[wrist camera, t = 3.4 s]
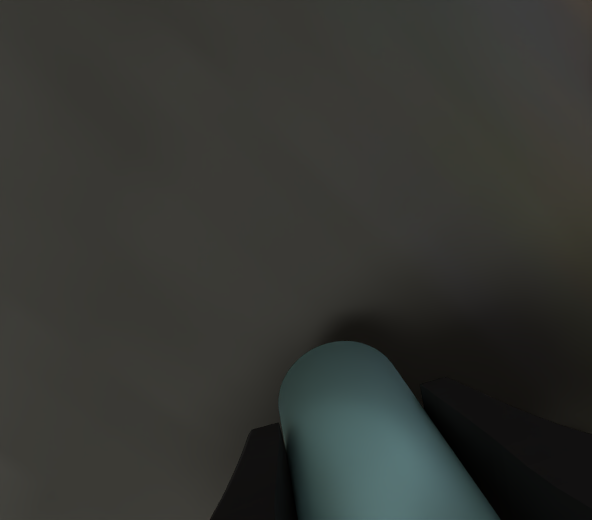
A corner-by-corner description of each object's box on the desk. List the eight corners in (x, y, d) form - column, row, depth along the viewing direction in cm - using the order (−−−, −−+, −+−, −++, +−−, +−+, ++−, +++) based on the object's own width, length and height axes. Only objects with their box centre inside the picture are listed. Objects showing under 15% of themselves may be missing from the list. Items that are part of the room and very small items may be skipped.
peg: (406, 340, 14) (581, 547, 7) (396, 453, 14) (546, 742, 8) (280, 341, 13) (332, 563, 6) (277, 458, 14) (320, 766, 7)
